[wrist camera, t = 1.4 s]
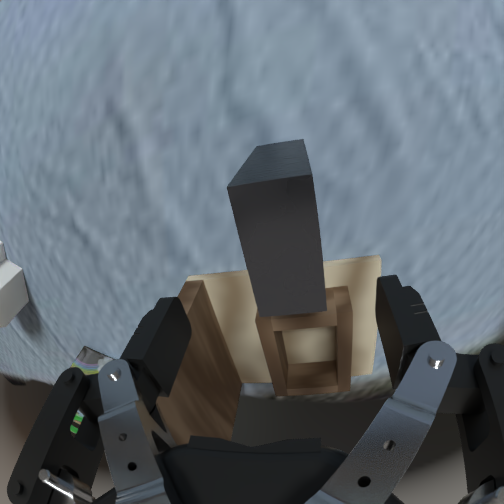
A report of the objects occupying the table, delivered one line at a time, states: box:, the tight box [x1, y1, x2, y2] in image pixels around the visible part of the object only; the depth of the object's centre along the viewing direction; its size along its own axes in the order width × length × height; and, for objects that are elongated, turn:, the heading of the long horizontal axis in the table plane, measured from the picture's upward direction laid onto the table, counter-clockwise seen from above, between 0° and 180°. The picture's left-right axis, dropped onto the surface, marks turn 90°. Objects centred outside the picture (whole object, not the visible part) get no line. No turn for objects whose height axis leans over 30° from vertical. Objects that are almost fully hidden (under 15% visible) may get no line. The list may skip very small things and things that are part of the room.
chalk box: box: [70, 346, 114, 434], centre depth 39 cm, size 9×9×15 cm
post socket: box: [156, 255, 381, 445], centre depth 25 cm, size 20×18×19 cm
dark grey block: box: [227, 139, 327, 317], centre depth 20 cm, size 4×8×12 cm, turn 12°
